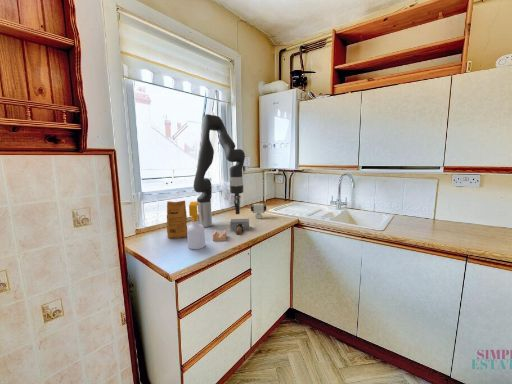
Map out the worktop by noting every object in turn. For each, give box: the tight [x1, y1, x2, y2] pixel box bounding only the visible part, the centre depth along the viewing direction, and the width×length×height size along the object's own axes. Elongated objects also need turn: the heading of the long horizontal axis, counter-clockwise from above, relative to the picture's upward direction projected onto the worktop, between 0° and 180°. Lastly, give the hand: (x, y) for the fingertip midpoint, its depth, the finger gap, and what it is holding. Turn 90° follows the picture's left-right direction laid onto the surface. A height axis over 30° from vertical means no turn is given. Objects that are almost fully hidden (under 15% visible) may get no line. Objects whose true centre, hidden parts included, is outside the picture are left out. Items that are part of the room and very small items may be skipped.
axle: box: [235, 224, 243, 236], centre depth 151 cm, size 16×4×4 cm, turn 0°
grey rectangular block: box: [229, 218, 250, 232], centre depth 154 cm, size 7×12×6 cm, turn 91°
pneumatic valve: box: [250, 202, 267, 220], centre depth 179 cm, size 6×12×12 cm, turn 91°
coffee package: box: [166, 200, 188, 239], centre depth 142 cm, size 10×12×22 cm
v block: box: [212, 229, 227, 242], centre depth 137 cm, size 7×7×4 cm
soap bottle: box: [186, 201, 206, 250], centre depth 124 cm, size 9×9×25 cm
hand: (237, 214), depth 136 cm, fingers closed
